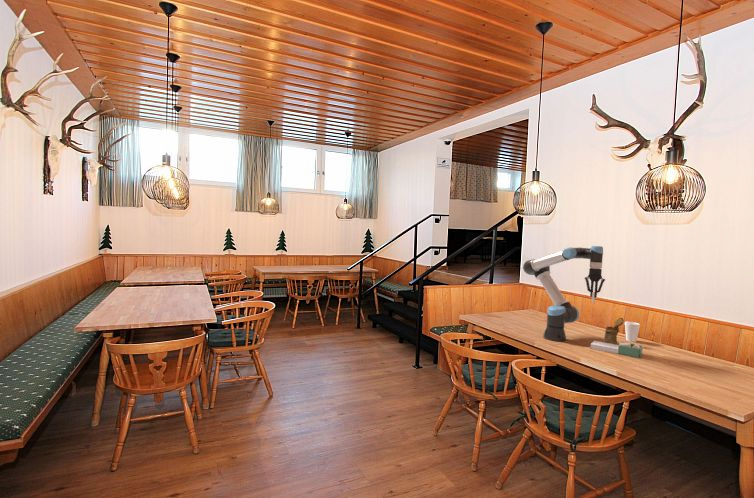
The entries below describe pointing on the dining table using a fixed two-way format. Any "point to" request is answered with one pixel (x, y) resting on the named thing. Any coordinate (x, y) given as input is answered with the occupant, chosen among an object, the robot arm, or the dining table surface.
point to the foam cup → (631, 331)
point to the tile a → (625, 344)
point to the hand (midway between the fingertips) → (593, 301)
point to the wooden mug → (612, 332)
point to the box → (630, 351)
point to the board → (604, 346)
